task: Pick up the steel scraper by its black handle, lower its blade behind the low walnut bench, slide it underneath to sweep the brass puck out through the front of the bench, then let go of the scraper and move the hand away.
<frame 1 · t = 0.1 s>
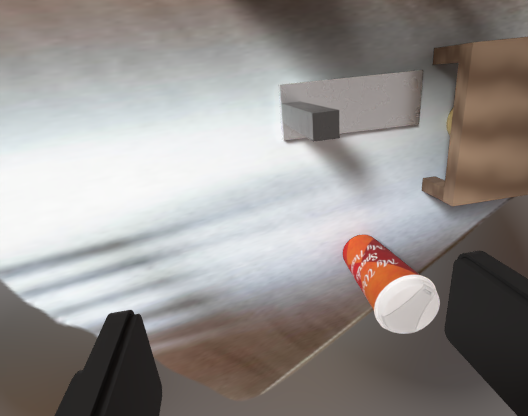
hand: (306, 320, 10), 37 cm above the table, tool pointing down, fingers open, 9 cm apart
coffee cup: (359, 250, 53), on the table
walnut bench: (465, 120, 47), on the table
steel scraper: (289, 111, 43), on the table
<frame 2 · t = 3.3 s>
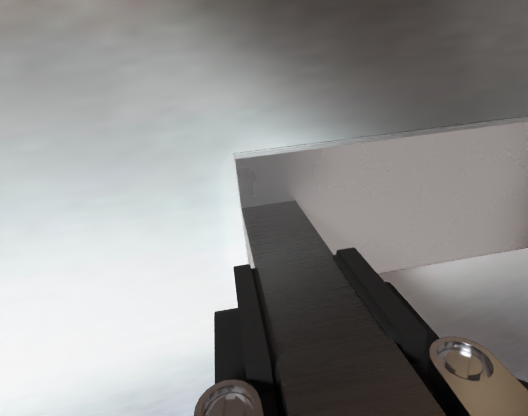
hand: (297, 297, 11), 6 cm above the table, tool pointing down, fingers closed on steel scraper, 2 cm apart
steel scraper: (267, 218, 16), on the table, touching gripper
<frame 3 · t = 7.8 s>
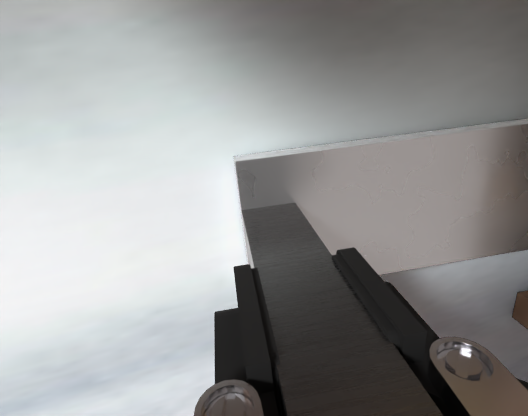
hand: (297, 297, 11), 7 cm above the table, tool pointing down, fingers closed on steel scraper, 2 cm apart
steel scraper: (267, 220, 16), on the table, touching gripper
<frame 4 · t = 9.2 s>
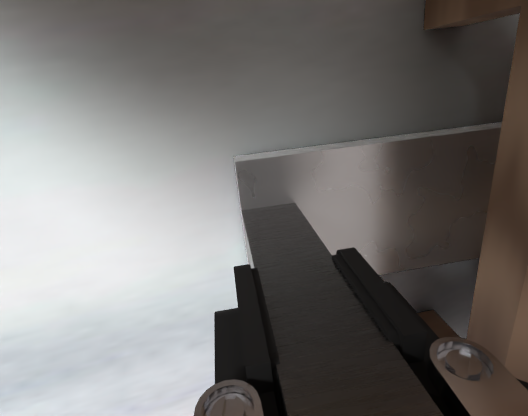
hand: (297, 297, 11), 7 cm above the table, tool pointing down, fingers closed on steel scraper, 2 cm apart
walnut bench: (513, 181, 18), on the table
steel scraper: (267, 221, 16), on the table, touching gripper
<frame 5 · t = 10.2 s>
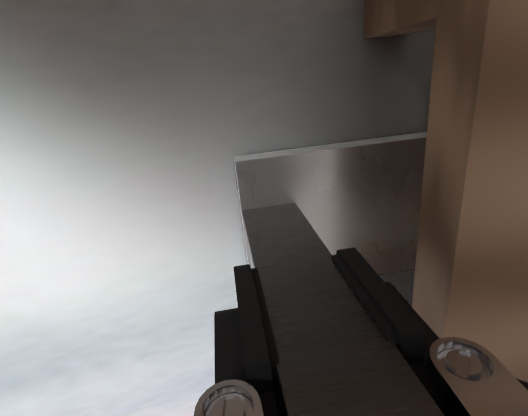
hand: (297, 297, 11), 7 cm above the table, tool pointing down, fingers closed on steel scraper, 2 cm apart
walnut bench: (466, 191, 18), on the table
steel scraper: (267, 221, 16), on the table, touching gripper
when the fingers open (7 cm above the table, at t = 12.2 s): steel scraper stays where it is, on the table.
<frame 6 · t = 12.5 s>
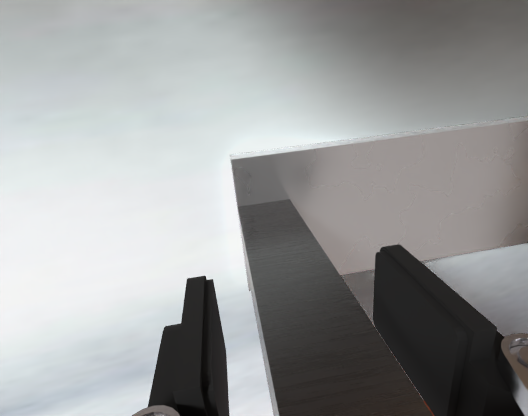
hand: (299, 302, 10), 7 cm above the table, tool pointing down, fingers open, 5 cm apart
steel scraper: (262, 217, 17), on the table
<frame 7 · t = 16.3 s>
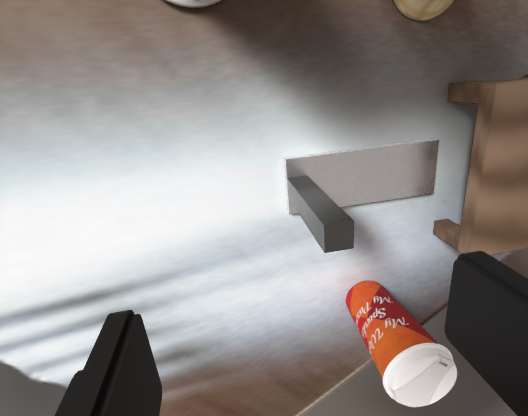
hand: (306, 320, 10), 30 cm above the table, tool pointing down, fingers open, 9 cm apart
coffee cup: (364, 296, 49), on the table
walnut bench: (482, 159, 43), on the table
steel scraper: (295, 183, 41), on the table
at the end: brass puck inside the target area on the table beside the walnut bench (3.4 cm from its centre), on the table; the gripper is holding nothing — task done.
